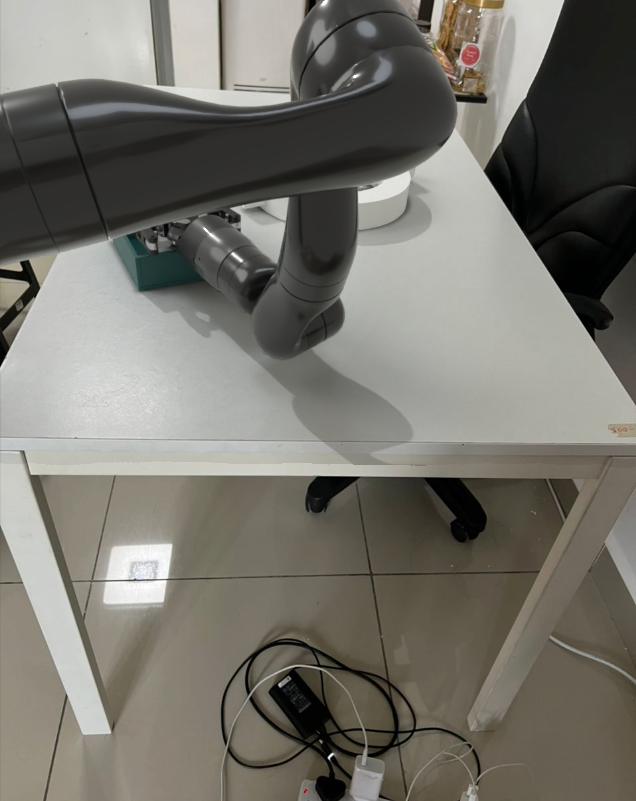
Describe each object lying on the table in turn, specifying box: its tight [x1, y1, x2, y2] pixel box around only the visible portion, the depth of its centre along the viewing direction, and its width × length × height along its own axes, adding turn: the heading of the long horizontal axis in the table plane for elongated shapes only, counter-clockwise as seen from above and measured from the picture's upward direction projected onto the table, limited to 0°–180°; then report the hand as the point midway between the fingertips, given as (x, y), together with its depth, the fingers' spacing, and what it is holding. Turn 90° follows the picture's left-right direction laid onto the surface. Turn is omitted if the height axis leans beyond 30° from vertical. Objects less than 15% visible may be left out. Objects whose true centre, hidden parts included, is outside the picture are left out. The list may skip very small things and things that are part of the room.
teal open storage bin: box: [112, 232, 204, 292], centre depth 93 cm, size 14×14×5 cm
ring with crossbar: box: [241, 167, 417, 231], centre depth 115 cm, size 28×28×5 cm
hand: (162, 205), depth 91 cm, fingers closed on can, 6 cm apart
